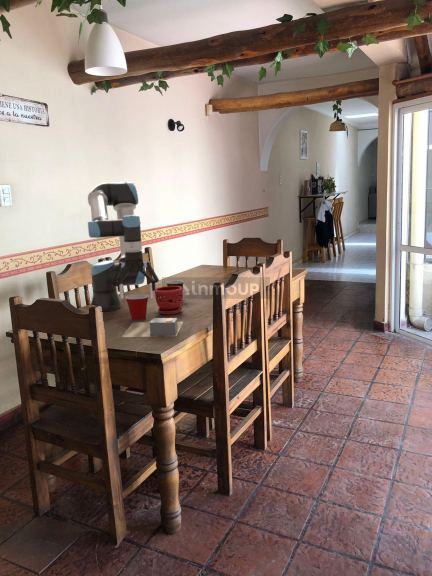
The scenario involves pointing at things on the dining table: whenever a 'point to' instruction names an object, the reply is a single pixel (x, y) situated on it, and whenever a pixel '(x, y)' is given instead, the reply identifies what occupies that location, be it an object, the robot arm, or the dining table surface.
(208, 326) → the dining table surface
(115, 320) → the dining table surface
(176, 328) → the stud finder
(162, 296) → the plant pot
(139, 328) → the plywood panel
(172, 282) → the coffee mug
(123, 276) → the robot arm
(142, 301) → the plastic cup
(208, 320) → the dining table surface
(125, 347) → the dining table surface
